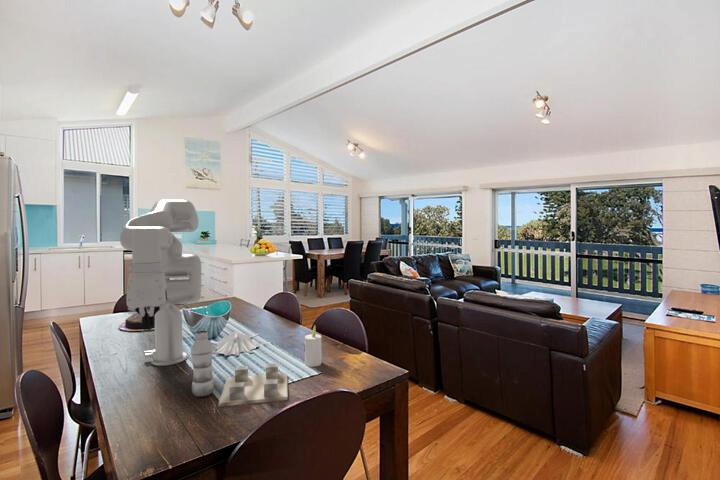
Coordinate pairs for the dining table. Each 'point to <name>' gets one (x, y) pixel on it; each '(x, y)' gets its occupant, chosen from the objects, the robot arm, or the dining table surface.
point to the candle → (312, 349)
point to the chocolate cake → (134, 323)
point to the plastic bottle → (202, 365)
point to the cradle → (254, 387)
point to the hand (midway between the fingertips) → (148, 328)
